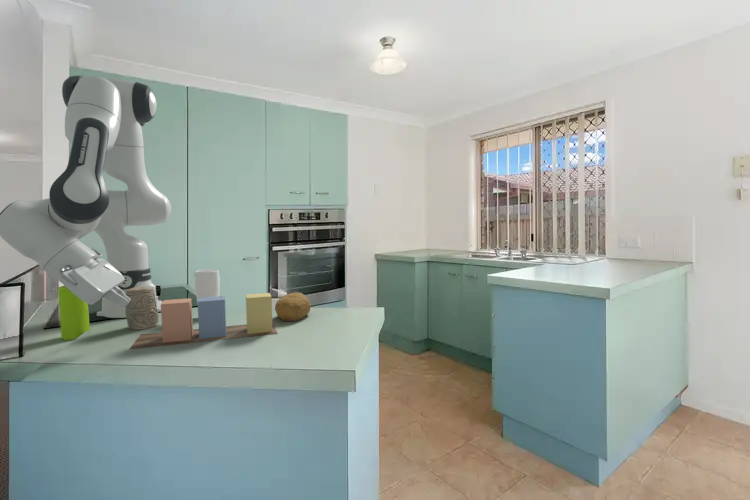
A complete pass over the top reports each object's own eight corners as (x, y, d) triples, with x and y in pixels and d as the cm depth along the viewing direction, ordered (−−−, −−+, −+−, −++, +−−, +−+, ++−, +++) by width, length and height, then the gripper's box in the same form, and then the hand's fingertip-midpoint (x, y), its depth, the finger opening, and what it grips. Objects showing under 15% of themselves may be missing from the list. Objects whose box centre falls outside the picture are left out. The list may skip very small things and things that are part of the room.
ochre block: (246, 328, 103) (245, 294, 102) (270, 326, 105) (269, 292, 104) (247, 334, 98) (246, 298, 98) (272, 331, 100) (271, 296, 100)
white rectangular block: (212, 324, 113) (210, 272, 112) (191, 323, 115) (189, 271, 113) (225, 318, 120) (224, 269, 119) (205, 317, 121) (203, 268, 120)
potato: (267, 328, 109) (267, 299, 108) (284, 315, 123) (283, 290, 122) (302, 329, 108) (302, 299, 108) (315, 316, 122) (314, 290, 122)
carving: (127, 331, 107) (124, 287, 106) (158, 327, 111) (156, 284, 110) (125, 337, 102) (123, 291, 101) (159, 333, 105) (157, 288, 104)
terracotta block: (166, 336, 97) (164, 300, 96) (193, 334, 99) (191, 298, 98) (162, 342, 92) (160, 304, 91) (191, 339, 94) (189, 302, 93)
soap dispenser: (70, 333, 106) (64, 258, 104) (95, 333, 105) (90, 258, 104) (51, 340, 100) (45, 260, 98) (78, 340, 100) (72, 260, 98)
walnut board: (141, 340, 99) (140, 334, 99) (273, 327, 110) (272, 322, 110) (129, 355, 88) (129, 349, 88) (277, 339, 99) (277, 333, 98)
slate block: (200, 333, 99) (199, 297, 99) (226, 330, 101) (224, 296, 101) (199, 338, 95) (197, 301, 94) (226, 336, 97) (224, 299, 96)
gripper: (67, 258, 78) (127, 303, 83) (99, 249, 97) (146, 286, 102) (41, 282, 77) (103, 326, 81) (78, 268, 96) (127, 305, 100)
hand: (127, 304), depth 92 cm, fingers closed
